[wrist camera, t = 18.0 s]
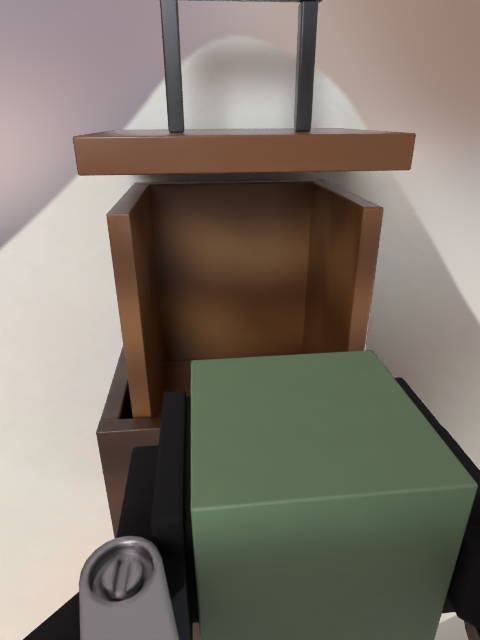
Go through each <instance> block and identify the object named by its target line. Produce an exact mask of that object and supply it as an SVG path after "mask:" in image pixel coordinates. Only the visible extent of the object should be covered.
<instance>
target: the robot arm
mask: <svg viewBox="0 0 480 640" xmlns="http://www.w3.org/2000/svg"><path fill="white" fill-rule="evenodd" d="M394 379H395V380H396V381H397V383H398V384H399V385H400V386H401V388H402V389H403V390H404V391H405V393H406V394H407V395H408V397H409V398H410V399H411V400H412V402H413V403H414V404H415V405H416V407H417V408H418V409H419V411H420V412H421V413H422V414H423V416H424V417H425V418H426V419H427V421H428V422H429V423H430V425H431V426H432V427H433V428H434V430H435V431H436V432H437V433H438V435H439V436H440V437H441V438H442V440H443V441H444V442H445V444H446V445H447V446H448V447H449V449H450V450H451V451H452V452H453V454H454V455H455V456H456V458H457V459H458V460H459V461H460V463H461V464H462V465H463V466H464V468H465V469H466V470H467V472H468V473H469V474H470V475H471V477H472V478H473V479H474V480H475V482H476V483H477V486H478V487H477V491H476V494H475V498H474V501H473V505H472V508H471V512H470V516H469V519H468V523H467V526H466V530H465V533H464V537H463V540H462V544H461V547H460V551H459V554H458V558H457V561H456V565H455V568H454V572H453V575H452V579H451V582H450V586H449V589H448V593H447V596H446V600H445V603H444V607H443V610H442V613H449V612H456V614H457V616H458V617H459V618H461V619H462V620H464V623H465V629H466V632H467V635H468V639H469V640H480V470H479V469H478V468H477V467H476V465H475V464H474V463H473V462H472V461H471V459H470V458H469V457H468V456H467V455H466V453H465V452H464V451H463V450H462V448H461V447H460V446H459V445H458V444H457V442H456V441H455V440H454V439H453V438H452V436H451V435H450V434H449V433H448V431H447V430H446V429H445V428H444V427H442V426H441V425H440V423H439V422H438V421H437V420H436V418H435V417H434V416H433V415H432V414H431V412H430V411H429V410H428V409H427V407H426V406H425V405H424V404H423V403H422V401H421V400H420V399H419V398H418V396H417V395H416V394H415V393H414V392H413V390H412V389H411V388H410V387H409V385H408V384H407V383H406V382H405V381H404V379H402V378H400V377H399V378H394ZM198 622H199V615H198V602H197V588H196V575H195V561H194V548H193V535H192V521H191V396H186V391H174V392H164V396H163V405H162V415H161V425H160V435H159V445H152V446H138V447H134V448H133V450H132V454H131V460H130V465H129V471H128V476H127V482H126V487H125V493H124V499H123V504H122V510H121V515H120V521H119V526H118V532H117V537H116V539H113V540H111V541H109V542H106V543H105V544H103V545H102V546H100V547H99V548H98V549H96V550H95V551H94V552H93V553H92V555H91V556H90V557H89V558H88V559H87V560H86V562H85V564H84V566H83V568H82V570H81V574H80V581H79V592H78V593H77V594H76V595H75V596H74V597H72V598H71V599H70V600H69V601H68V602H66V603H65V604H64V605H63V606H62V607H61V608H59V609H58V610H57V611H56V612H55V613H54V614H52V615H51V616H50V617H49V618H48V619H47V620H45V621H44V622H43V623H42V624H41V625H40V626H38V627H37V628H36V629H35V630H34V631H32V632H31V633H30V634H29V635H28V636H27V637H25V638H24V639H23V640H193V623H198Z"/></svg>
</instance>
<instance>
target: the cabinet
mask: <svg viewBox="0 0 480 640" xmlns="http://www.w3.org/2000/svg"><path fill="white" fill-rule="evenodd" d="M160 425H161V417H149V418H133V415H132V408H131V400H130V392H129V385H128V377H127V369H126V361H125V354H124V346H123V348H122V351H121V354H120V357H119V361H118V364H117V367H116V371H115V374H114V377H113V380H112V384H111V387H110V390H109V394H108V397H107V400H106V403H105V407H104V410H103V413H102V417H101V420H100V422H99V425H98V428H97V432H96V435H97V440H98V446H99V452H100V457H101V463H102V469H103V474H104V480H105V486H106V491H107V497H108V503H109V509H110V514H111V520H112V526H113V531H114V537H115V539H116V537H117V532H118V526H119V521H120V515H121V510H122V504H123V499H124V493H125V487H126V482H127V476H128V471H129V465H130V460H131V454H132V450H133V448H134V447H138V446H152V445H159V435H160ZM193 640H200V629H199V622H198V623H193Z"/></svg>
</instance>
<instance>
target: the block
mask: <svg viewBox="0 0 480 640" xmlns="http://www.w3.org/2000/svg"><path fill="white" fill-rule="evenodd" d="M477 487H478V486H477V483H476V482H475V480H474V479H473V478H472V477H471V475H470V474H469V473H468V472H467V470H466V469H465V468H464V466H463V465H462V464H461V463H460V461H459V460H458V459H457V458H456V456H455V455H454V454H453V452H452V451H451V450H450V449H449V447H448V446H447V445H446V444H445V442H444V441H443V440H442V438H441V437H440V436H439V435H438V433H437V432H436V431H435V430H434V428H433V427H432V426H431V425H430V423H429V422H428V421H427V419H426V418H425V417H424V416H423V414H422V413H421V412H420V411H419V409H418V408H417V407H416V405H415V404H414V403H413V402H412V400H411V399H410V398H409V397H408V395H407V394H406V393H405V391H404V390H403V389H402V388H401V386H400V385H399V384H398V383H397V381H396V380H395V379H394V377H393V376H392V375H391V374H390V372H389V371H388V370H387V369H386V367H385V366H384V365H383V363H382V362H381V361H380V360H379V358H378V357H377V356H376V355H375V353H374V352H373V351H371V350H368V351H350V352H333V353H315V354H297V355H280V356H262V357H244V358H226V359H209V360H193V361H191V521H192V535H193V548H194V561H195V575H196V588H197V602H198V615H199V629H200V640H434V638H435V635H436V631H437V628H438V624H439V621H440V617H441V614H442V610H443V607H444V603H445V600H446V596H447V593H448V589H449V586H450V582H451V579H452V575H453V572H454V568H455V565H456V561H457V558H458V554H459V551H460V547H461V544H462V540H463V537H464V533H465V530H466V526H467V523H468V519H469V516H470V512H471V508H472V505H473V501H474V498H475V494H476V491H477Z"/></svg>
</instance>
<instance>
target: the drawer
mask: <svg viewBox="0 0 480 640" xmlns="http://www.w3.org/2000/svg"><path fill="white" fill-rule="evenodd" d="M193 1H250V2H301V3H300V4H299V13H298V37H297V61H296V85H295V109H294V129H184V111H183V92H182V73H181V56H180V36H179V18H178V1H177V0H160V7H161V22H162V38H163V53H164V65H165V83H166V98H167V113H168V128H169V130H113V131H106V132H99V133H93V134H86V135H79V136H74V137H73V143H74V150H75V157H76V163H77V170H78V174H79V175H80V176H86V175H147V174H207V173H268V172H328V171H389V170H410V169H411V163H412V157H413V150H414V143H415V137H416V135H415V133H403V132H388V131H373V130H358V129H343V128H311V118H312V100H313V83H314V65H315V47H316V30H317V12H318V3H320V2H321V1H322V0H193ZM106 216H107V223H108V231H109V239H110V246H111V254H112V262H113V269H114V277H115V285H116V292H117V300H118V308H119V315H120V323H121V331H122V338H123V346H124V354H125V361H126V369H127V377H128V385H129V392H130V400H131V408H132V415H133V418H149V417H161V415H162V405H163V396H164V392H174V391H186V396H191V361H193V360H209V359H226V358H244V357H262V356H280V355H297V354H315V353H333V352H350V351H365V349H366V341H367V333H368V326H369V318H370V310H371V302H372V295H373V287H374V279H375V271H376V263H377V256H378V248H379V240H380V232H381V225H382V217H383V207H380V206H378V205H376V204H374V203H372V202H370V201H368V200H365V199H363V198H361V197H359V196H357V195H355V194H353V193H350V192H348V191H346V190H344V189H342V188H340V187H338V186H335V185H333V184H331V183H329V182H327V181H325V180H323V179H314V180H259V181H204V182H148V183H134V185H132V186H131V188H130V189H129V190H128V191H127V192H126V193H125V194H124V195H123V197H122V198H121V199H120V200H119V201H118V202H117V203H116V204H115V206H114V207H113V208H112V209H111V210H110V211H109V212H108V213H107V215H106Z"/></svg>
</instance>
